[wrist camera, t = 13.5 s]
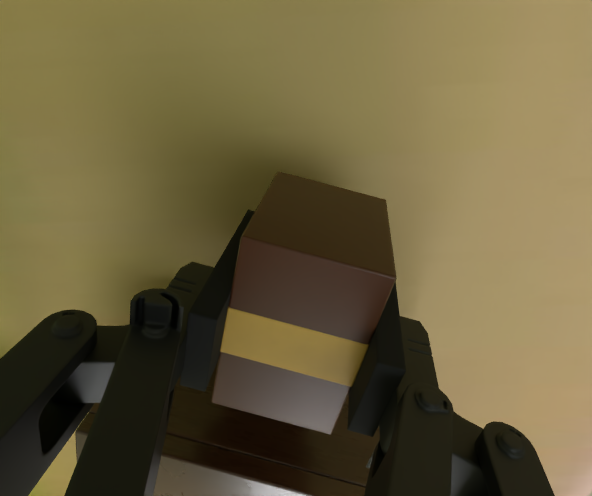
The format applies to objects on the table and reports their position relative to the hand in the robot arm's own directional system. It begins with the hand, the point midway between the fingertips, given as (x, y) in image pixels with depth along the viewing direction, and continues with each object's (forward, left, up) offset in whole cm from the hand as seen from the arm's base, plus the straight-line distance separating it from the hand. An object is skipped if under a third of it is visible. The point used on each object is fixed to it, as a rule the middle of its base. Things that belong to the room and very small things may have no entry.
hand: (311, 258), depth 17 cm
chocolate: (0, 0, 0) cm, 0 cm away
